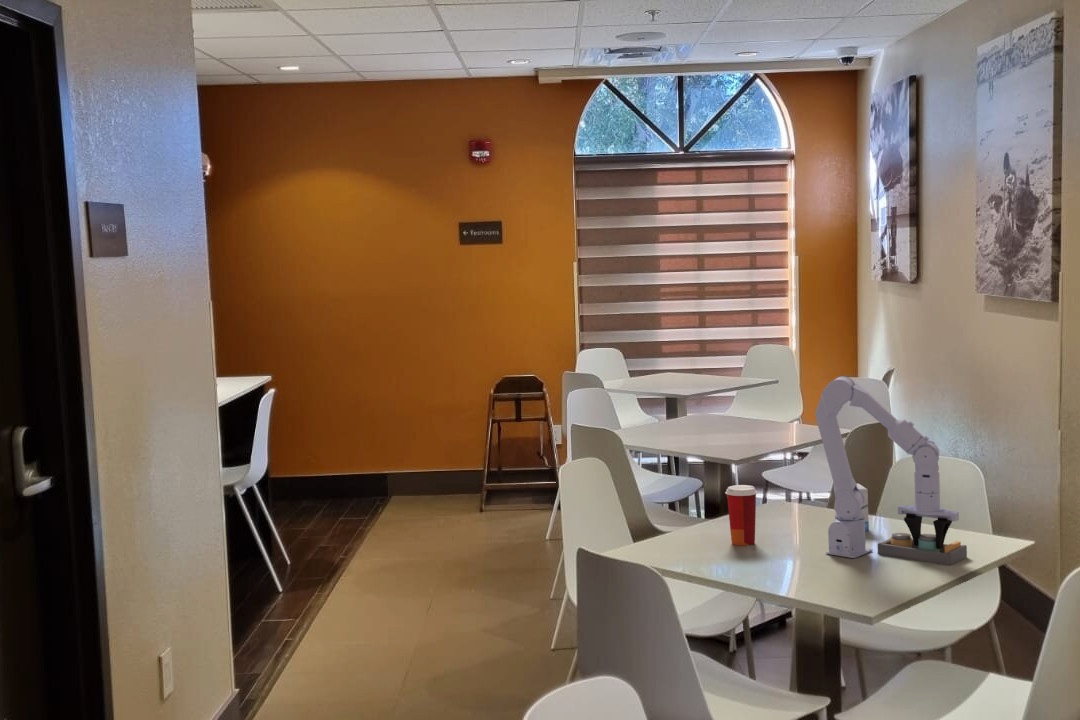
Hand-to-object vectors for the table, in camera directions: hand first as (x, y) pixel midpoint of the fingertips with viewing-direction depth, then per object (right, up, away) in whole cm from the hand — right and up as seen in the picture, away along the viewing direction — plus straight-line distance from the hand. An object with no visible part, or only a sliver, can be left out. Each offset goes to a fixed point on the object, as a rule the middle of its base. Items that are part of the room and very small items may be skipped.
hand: (928, 546), depth 247 cm
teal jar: (0, -2, 0) cm, 2 cm away
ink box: (-7, -1, +33) cm, 34 cm away
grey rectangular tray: (-1, -3, +2) cm, 3 cm away
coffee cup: (-41, -3, +22) cm, 47 cm away
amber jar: (-5, -3, +5) cm, 7 cm away
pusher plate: (+4, -3, -4) cm, 6 cm away
